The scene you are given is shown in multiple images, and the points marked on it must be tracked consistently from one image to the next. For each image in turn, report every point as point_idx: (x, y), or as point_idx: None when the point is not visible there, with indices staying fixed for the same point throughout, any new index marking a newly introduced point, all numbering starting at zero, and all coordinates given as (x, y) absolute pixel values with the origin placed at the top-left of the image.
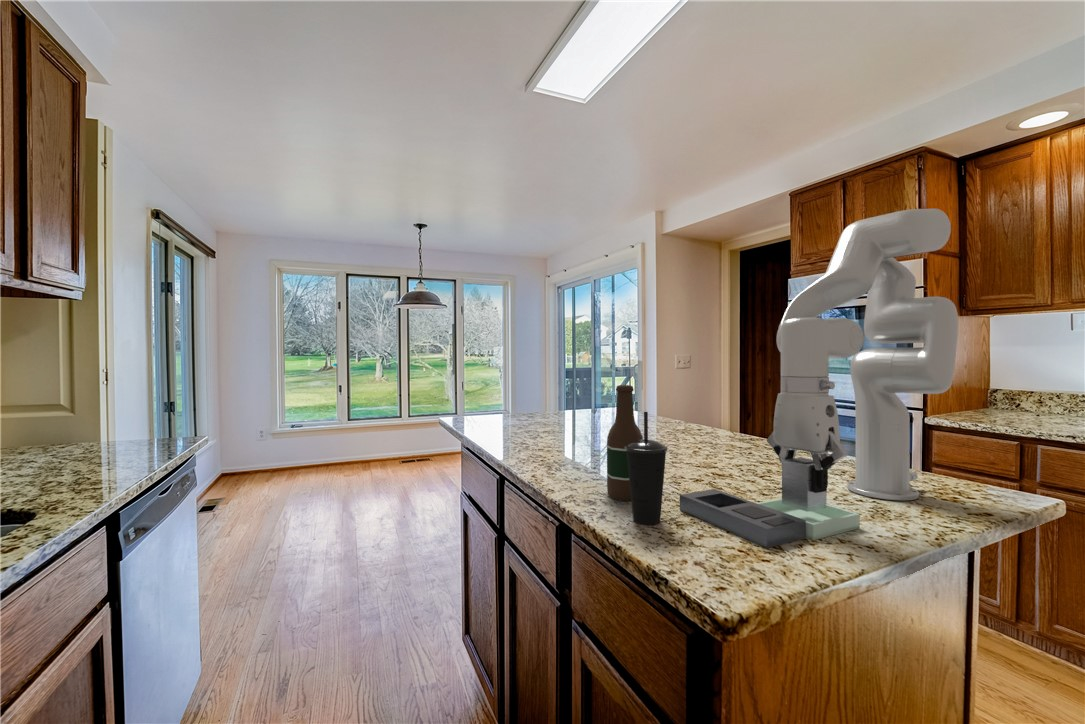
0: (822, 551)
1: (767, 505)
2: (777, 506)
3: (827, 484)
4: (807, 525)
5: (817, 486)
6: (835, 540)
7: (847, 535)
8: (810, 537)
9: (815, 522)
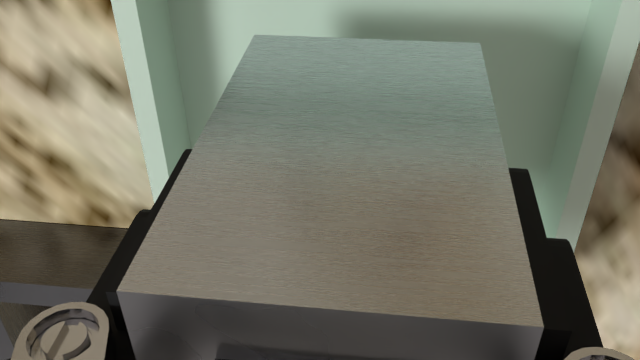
0: (626, 313)
1: None
2: (169, 90)
3: (570, 251)
4: None
5: None
6: (617, 172)
7: (637, 51)
8: None
9: None
